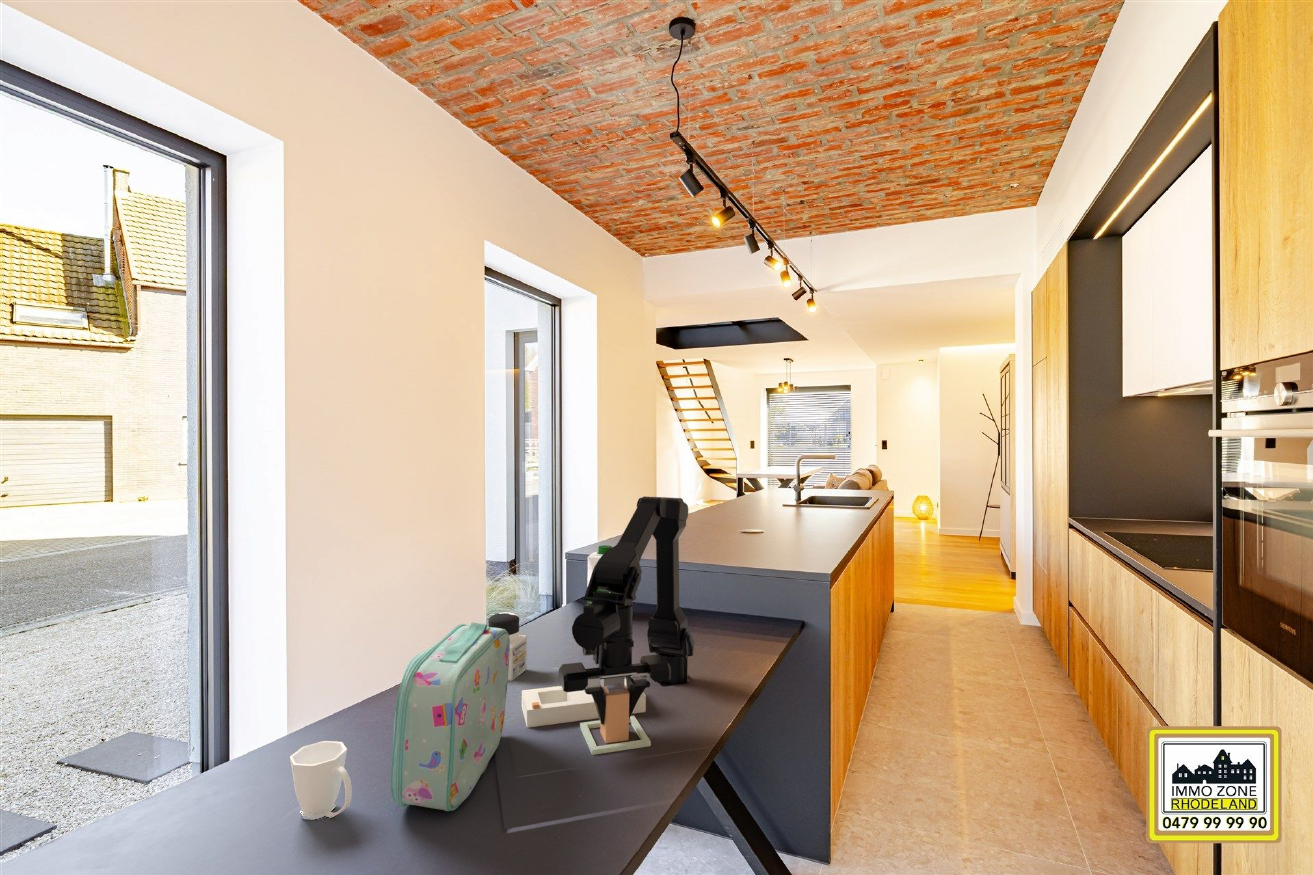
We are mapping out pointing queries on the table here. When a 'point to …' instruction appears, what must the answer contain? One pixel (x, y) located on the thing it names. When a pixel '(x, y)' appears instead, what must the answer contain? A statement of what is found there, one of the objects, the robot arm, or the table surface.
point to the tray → (618, 746)
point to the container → (512, 642)
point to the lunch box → (449, 717)
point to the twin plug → (612, 681)
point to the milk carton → (593, 561)
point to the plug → (615, 713)
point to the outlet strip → (562, 706)
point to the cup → (320, 778)
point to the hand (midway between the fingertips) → (614, 721)
